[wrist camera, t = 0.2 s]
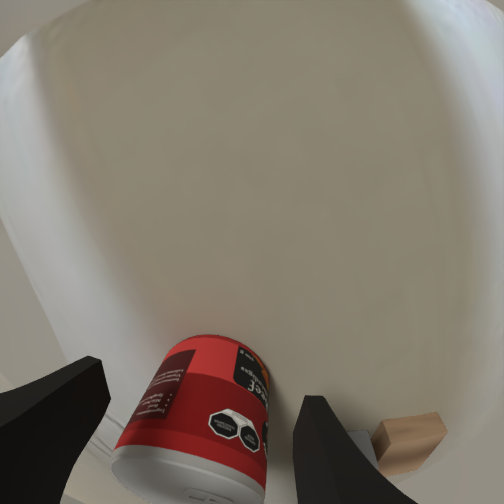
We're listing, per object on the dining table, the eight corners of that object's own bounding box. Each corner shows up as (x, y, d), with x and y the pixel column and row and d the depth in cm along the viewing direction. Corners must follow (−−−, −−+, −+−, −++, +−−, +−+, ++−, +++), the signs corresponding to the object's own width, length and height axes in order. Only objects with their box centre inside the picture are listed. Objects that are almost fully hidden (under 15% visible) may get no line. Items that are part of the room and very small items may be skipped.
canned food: (266, 409, 20) (261, 525, 10) (173, 400, 21) (131, 502, 10) (272, 334, 19) (270, 473, 8) (161, 325, 19) (85, 435, 8)
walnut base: (408, 449, 22) (417, 469, 19) (357, 457, 22) (363, 480, 19) (435, 410, 20) (448, 431, 17) (381, 418, 21) (391, 443, 17)
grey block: (353, 452, 22) (362, 487, 17) (317, 453, 22) (322, 491, 17) (367, 429, 21) (379, 467, 16) (328, 431, 21) (335, 473, 16)
